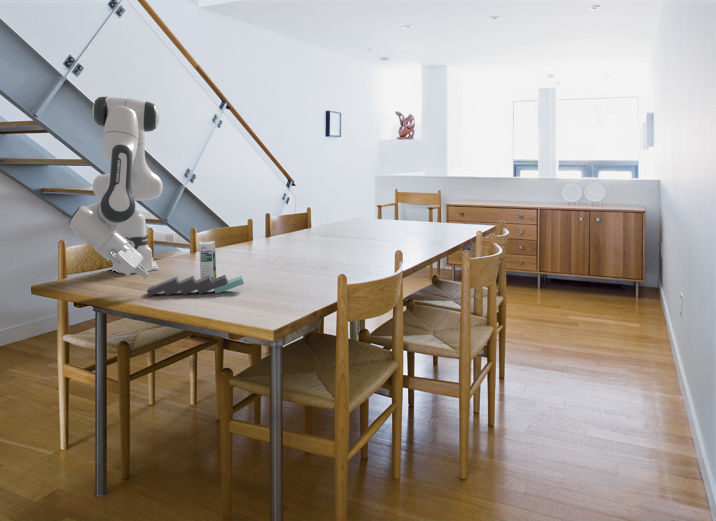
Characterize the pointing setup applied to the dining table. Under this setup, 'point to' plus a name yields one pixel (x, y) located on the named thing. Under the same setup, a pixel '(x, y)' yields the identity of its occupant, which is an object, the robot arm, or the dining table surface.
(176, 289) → the domino
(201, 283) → the domino
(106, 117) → the robot arm
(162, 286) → the domino
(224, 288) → the domino
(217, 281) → the domino
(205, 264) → the syrup box
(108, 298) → the dining table surface
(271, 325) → the dining table surface
